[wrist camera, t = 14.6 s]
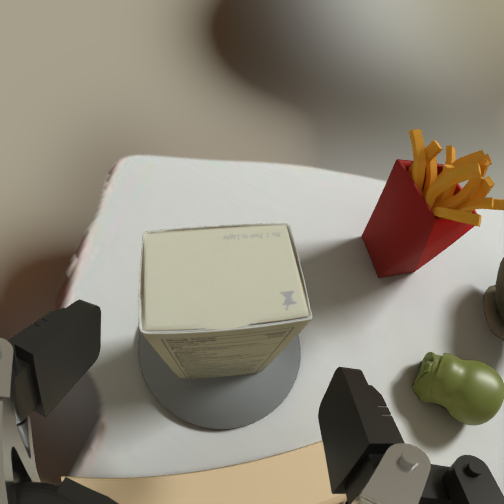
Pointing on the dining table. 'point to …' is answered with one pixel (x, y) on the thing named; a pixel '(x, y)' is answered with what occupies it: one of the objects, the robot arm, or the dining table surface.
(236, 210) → the dining table surface
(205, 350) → the skincare box
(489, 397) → the pear
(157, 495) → the carton
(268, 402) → the coaster
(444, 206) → the french fries
